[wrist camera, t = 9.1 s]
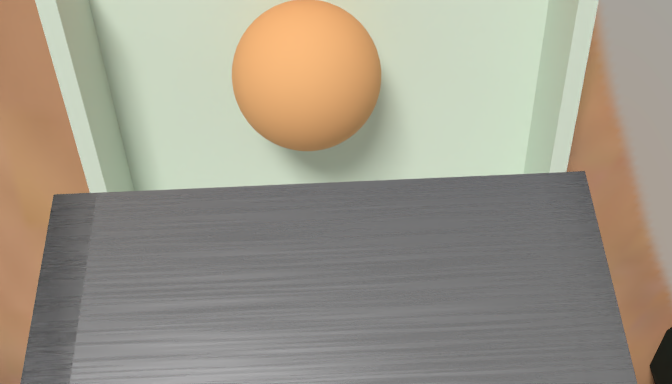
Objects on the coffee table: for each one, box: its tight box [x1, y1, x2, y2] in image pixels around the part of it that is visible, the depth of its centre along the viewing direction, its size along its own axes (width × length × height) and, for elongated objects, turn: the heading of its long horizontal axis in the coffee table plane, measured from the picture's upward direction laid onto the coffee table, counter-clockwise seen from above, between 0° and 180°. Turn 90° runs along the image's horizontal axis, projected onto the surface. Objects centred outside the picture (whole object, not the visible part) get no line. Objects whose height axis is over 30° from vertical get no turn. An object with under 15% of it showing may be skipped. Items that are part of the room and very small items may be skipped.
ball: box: [232, 0, 381, 151], centre depth 17 cm, size 4×4×4 cm
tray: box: [35, 0, 599, 193], centre depth 20 cm, size 10×14×2 cm
